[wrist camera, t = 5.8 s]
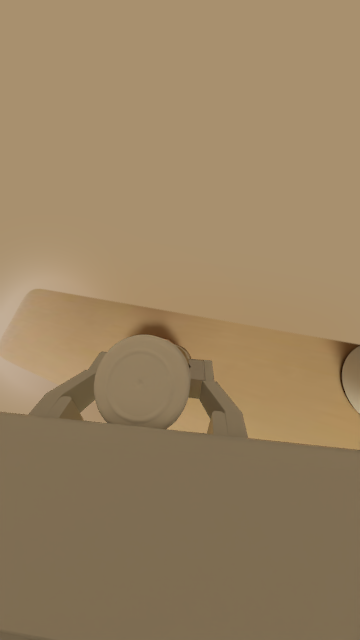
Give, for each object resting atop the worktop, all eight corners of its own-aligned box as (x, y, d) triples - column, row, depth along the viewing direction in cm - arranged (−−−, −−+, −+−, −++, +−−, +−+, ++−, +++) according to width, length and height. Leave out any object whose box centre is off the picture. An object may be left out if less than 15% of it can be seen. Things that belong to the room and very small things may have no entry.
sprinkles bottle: (191, 383, 20) (187, 447, 7) (154, 380, 20) (82, 436, 7) (192, 344, 21) (191, 335, 8) (156, 343, 21) (96, 331, 8)
